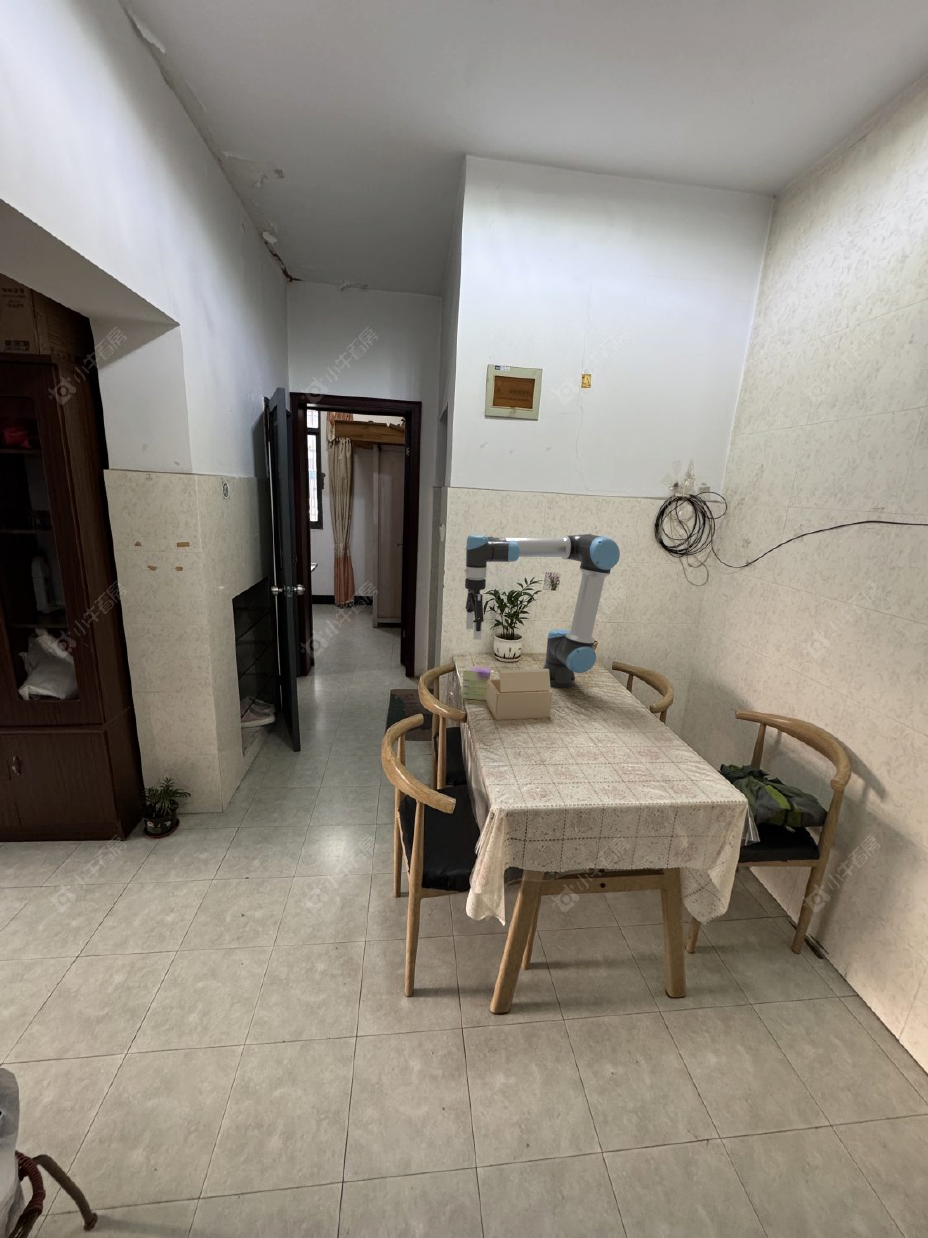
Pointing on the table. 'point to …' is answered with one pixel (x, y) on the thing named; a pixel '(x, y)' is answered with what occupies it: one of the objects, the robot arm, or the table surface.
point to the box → (475, 682)
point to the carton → (517, 702)
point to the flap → (524, 680)
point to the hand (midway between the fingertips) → (473, 633)
